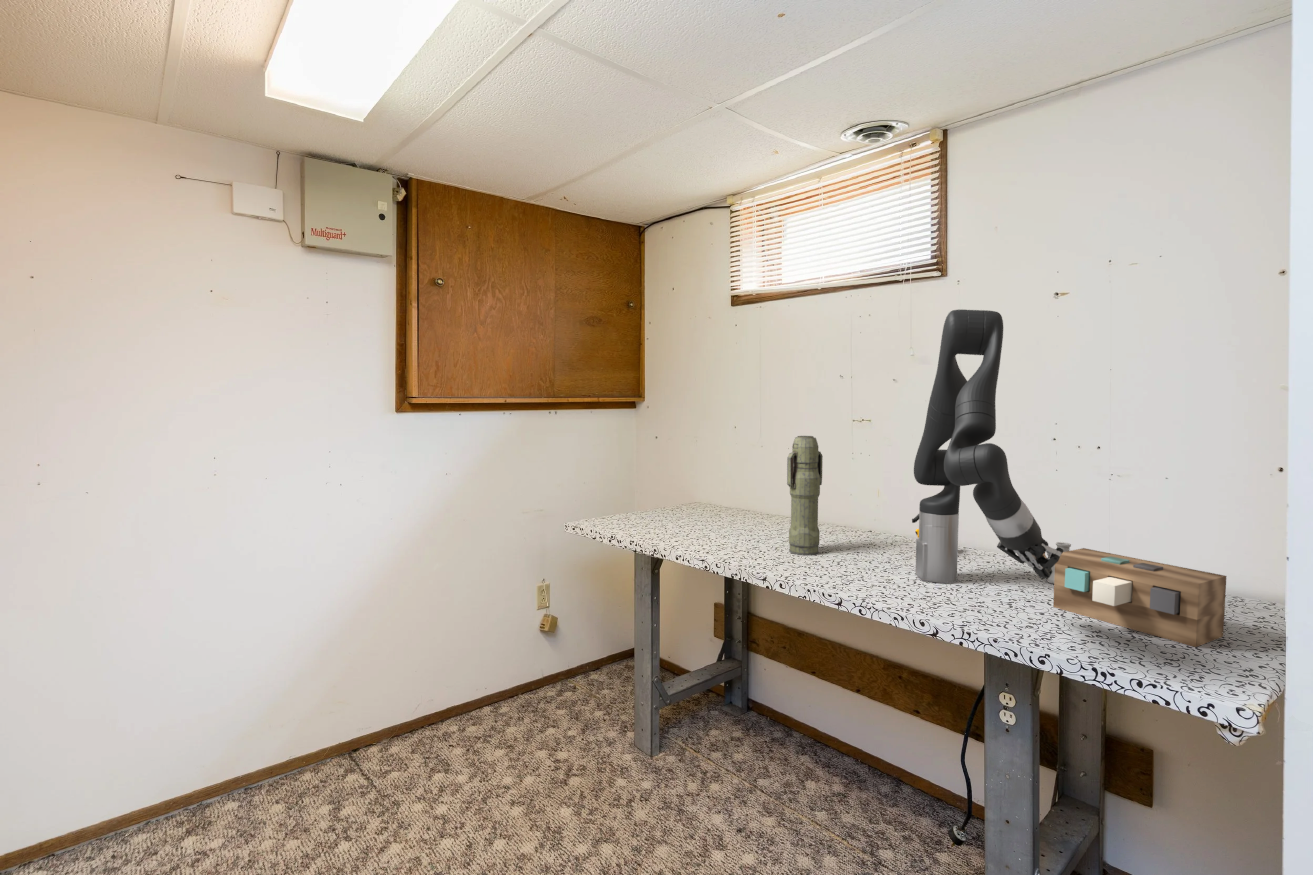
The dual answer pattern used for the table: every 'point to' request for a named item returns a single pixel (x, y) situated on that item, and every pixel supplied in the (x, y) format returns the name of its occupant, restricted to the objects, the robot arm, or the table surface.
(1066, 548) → the flask
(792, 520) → the thermos
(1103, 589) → the key ivory
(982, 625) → the table surface
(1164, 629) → the block
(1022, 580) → the table surface
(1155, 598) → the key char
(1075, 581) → the key teal
